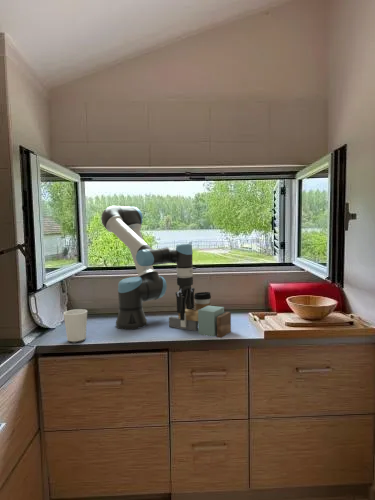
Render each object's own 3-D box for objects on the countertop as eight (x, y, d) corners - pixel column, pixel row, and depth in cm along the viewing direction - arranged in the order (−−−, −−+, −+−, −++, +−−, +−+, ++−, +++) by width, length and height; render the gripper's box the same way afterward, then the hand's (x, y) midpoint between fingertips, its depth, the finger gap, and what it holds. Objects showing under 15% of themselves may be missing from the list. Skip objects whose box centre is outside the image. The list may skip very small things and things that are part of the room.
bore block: (198, 334, 154) (198, 310, 153) (209, 328, 162) (208, 305, 162) (214, 336, 150) (214, 312, 149) (224, 330, 158) (224, 307, 157)
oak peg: (178, 318, 163) (178, 310, 162) (182, 316, 166) (182, 308, 166) (204, 322, 155) (204, 313, 155) (208, 320, 159) (208, 311, 158)
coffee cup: (210, 324, 168) (209, 294, 167) (193, 324, 170) (192, 294, 169) (212, 320, 176) (211, 291, 175) (196, 319, 178) (195, 291, 177)
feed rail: (169, 326, 167) (168, 317, 167) (171, 325, 169) (171, 316, 169) (195, 330, 159) (195, 321, 159) (198, 329, 161) (198, 320, 161)
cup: (91, 341, 147) (89, 312, 146) (67, 346, 142) (65, 315, 141) (85, 335, 156) (84, 307, 155) (62, 339, 151) (61, 311, 150)
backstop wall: (217, 337, 149) (216, 316, 148) (226, 331, 157) (226, 311, 157) (221, 337, 148) (221, 317, 147) (230, 331, 156) (230, 312, 156)
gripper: (181, 279, 152) (183, 331, 154) (200, 274, 167) (201, 322, 168) (168, 278, 156) (169, 329, 158) (187, 273, 171) (188, 320, 172)
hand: (186, 325), depth 163 cm, fingers closed on oak peg, 4 cm apart
